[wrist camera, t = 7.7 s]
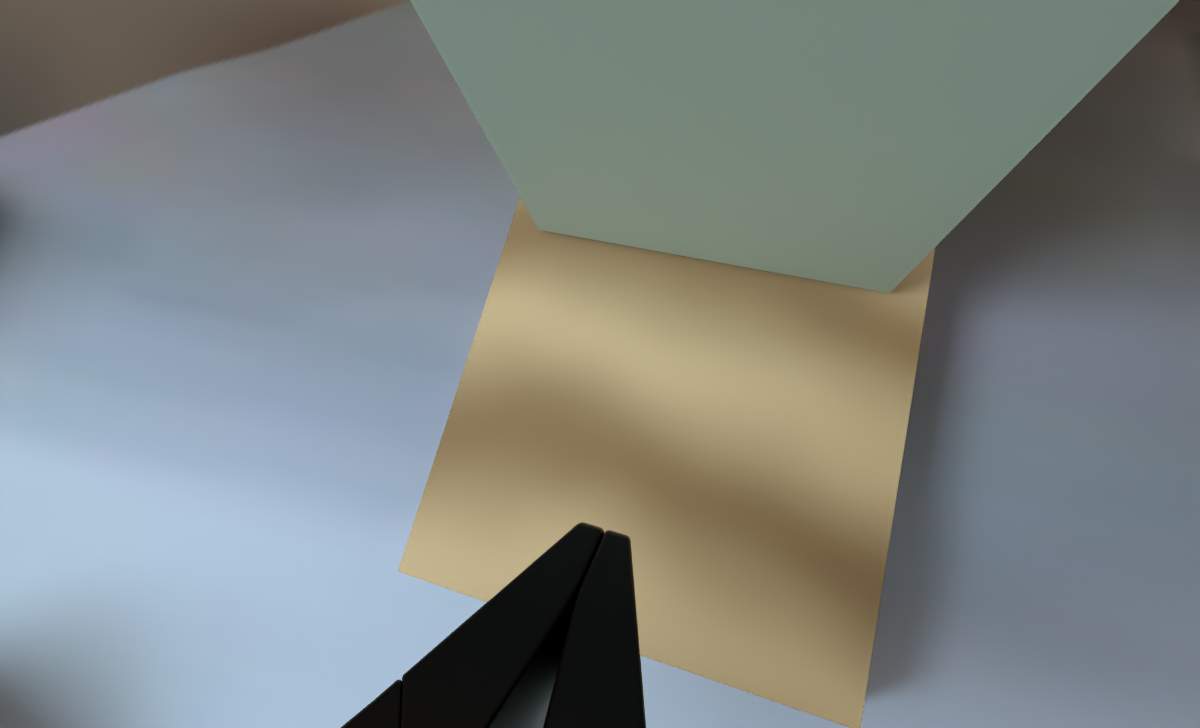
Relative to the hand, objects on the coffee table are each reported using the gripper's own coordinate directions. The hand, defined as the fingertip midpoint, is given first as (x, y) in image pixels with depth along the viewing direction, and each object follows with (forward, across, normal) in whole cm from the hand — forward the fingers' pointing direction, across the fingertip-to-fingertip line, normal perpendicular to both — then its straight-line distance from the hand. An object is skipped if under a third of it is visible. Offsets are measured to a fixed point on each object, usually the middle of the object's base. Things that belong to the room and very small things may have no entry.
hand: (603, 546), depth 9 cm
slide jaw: (+10, 0, -3) cm, 11 cm away
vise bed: (+10, 0, 0) cm, 10 cm away
